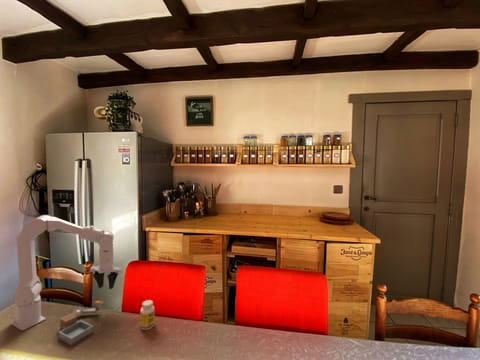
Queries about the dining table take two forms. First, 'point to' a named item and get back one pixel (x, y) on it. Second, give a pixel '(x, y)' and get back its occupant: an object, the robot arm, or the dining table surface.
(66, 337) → the tray
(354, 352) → the dining table surface
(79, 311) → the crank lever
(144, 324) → the supplement bottle
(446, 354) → the dining table surface
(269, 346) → the dining table surface
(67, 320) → the block
